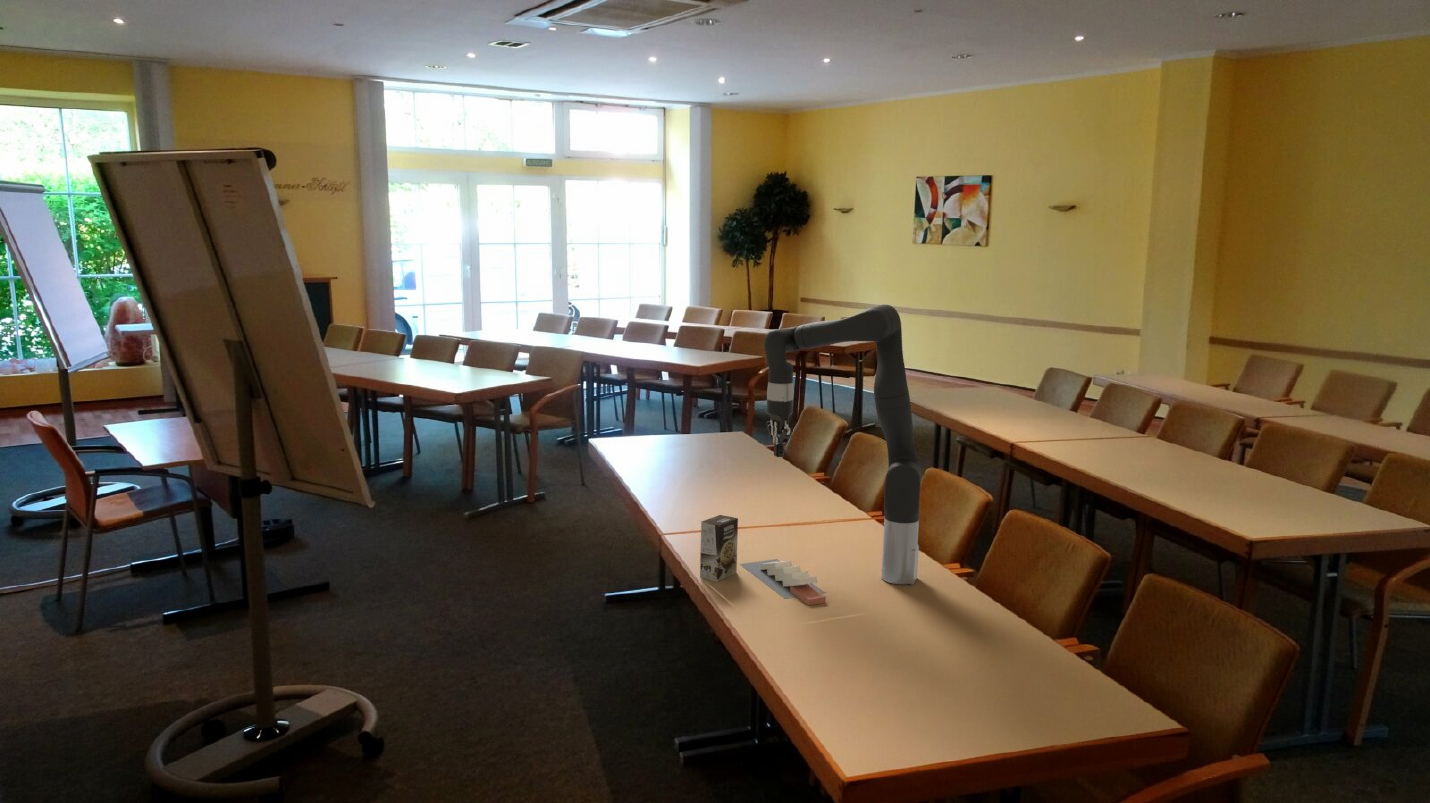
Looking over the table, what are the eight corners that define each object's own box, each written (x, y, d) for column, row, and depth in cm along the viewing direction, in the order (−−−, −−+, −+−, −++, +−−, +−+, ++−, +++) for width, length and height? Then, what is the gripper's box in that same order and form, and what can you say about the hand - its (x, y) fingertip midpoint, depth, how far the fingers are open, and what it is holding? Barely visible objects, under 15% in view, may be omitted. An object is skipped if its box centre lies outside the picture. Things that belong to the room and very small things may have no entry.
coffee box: (717, 583, 258) (719, 525, 255) (699, 577, 262) (699, 520, 259) (737, 574, 265) (739, 517, 262) (719, 568, 269) (720, 513, 266)
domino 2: (783, 567, 265) (799, 565, 256) (784, 573, 265) (800, 571, 256) (767, 569, 263) (783, 567, 254) (767, 575, 263) (784, 574, 254)
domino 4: (798, 578, 257) (816, 576, 248) (799, 584, 257) (817, 582, 248) (782, 580, 255) (799, 578, 246) (783, 586, 255) (800, 584, 246)
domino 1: (775, 561, 270) (791, 560, 261) (776, 567, 269) (792, 566, 260) (759, 563, 268) (774, 562, 259) (760, 569, 267) (775, 568, 258)
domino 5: (806, 583, 253) (825, 596, 244) (806, 589, 253) (825, 602, 244) (790, 585, 251) (808, 599, 242) (789, 591, 251) (808, 605, 242)
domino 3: (791, 572, 261) (808, 570, 252) (792, 578, 261) (809, 576, 252) (774, 575, 259) (791, 573, 250) (775, 581, 259) (792, 579, 250)
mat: (739, 565, 272) (739, 563, 272) (776, 560, 277) (776, 558, 276) (784, 600, 247) (784, 598, 246) (825, 593, 251) (825, 592, 251)
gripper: (758, 394, 281) (756, 452, 284) (778, 402, 269) (777, 462, 272) (781, 393, 284) (779, 450, 287) (802, 400, 272) (800, 460, 275)
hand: (778, 456), depth 279 cm, fingers closed
